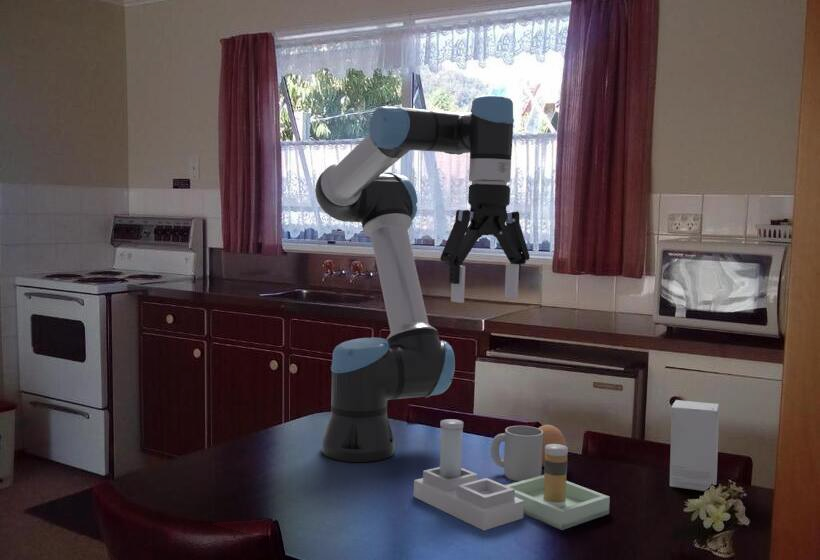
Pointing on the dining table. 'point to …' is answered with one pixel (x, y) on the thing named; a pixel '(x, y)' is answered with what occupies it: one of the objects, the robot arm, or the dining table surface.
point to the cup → (519, 452)
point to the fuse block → (465, 487)
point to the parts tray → (577, 506)
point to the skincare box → (694, 445)
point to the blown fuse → (555, 474)
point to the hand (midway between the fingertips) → (485, 300)
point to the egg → (551, 438)
